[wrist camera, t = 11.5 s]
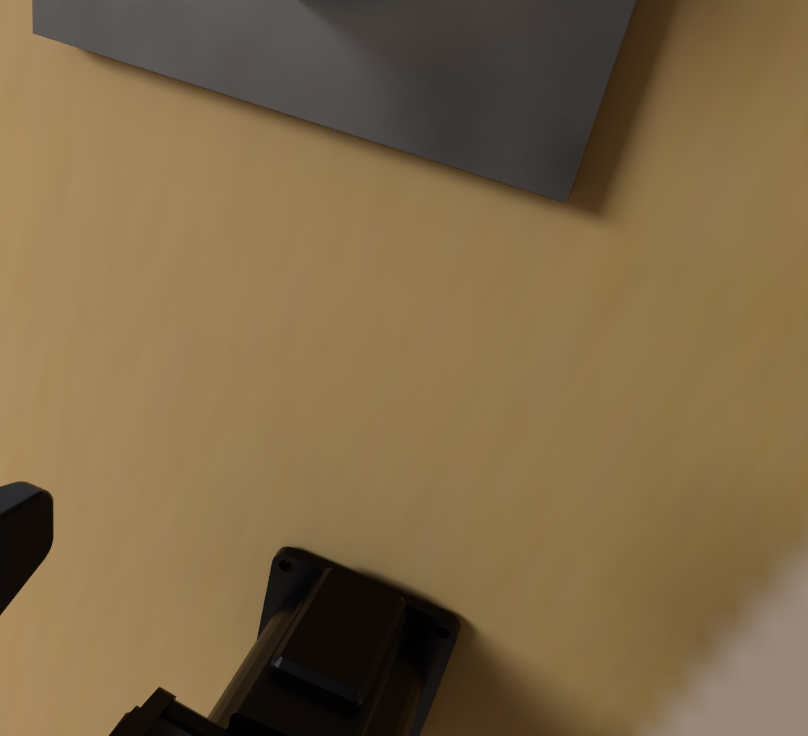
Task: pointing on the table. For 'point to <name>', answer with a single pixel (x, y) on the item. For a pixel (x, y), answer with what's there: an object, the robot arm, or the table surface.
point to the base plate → (387, 69)
